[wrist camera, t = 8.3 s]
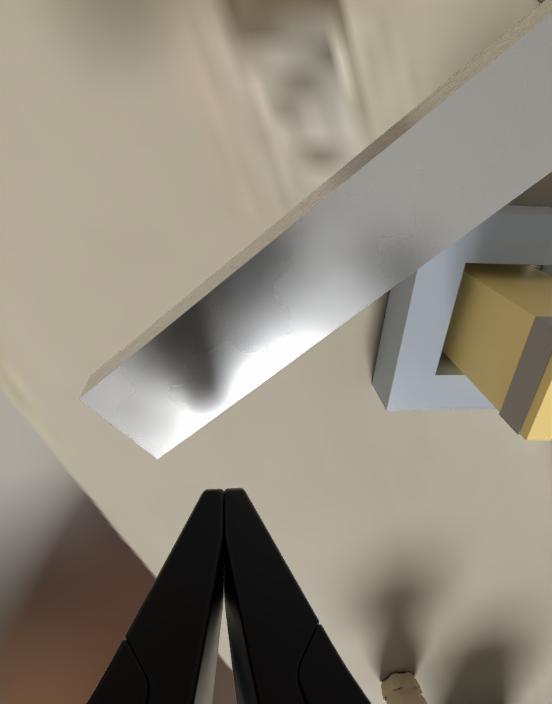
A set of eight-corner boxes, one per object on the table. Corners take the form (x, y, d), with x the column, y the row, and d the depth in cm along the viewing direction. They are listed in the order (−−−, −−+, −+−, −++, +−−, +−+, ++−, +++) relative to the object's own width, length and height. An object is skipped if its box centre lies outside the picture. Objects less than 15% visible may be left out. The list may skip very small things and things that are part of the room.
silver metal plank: (1273, -686, 5) (1479, -846, 4) (1180, -270, 7) (1313, -324, 6) (63, 354, 10) (48, 376, 9) (183, 450, 12) (180, 476, 11)
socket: (603, 209, 20) (648, 220, 18) (533, 383, 24) (563, 408, 22) (407, 200, 19) (430, 210, 17) (371, 384, 23) (386, 410, 21)
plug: (530, 263, 21) (685, 337, 14) (504, 340, 23) (628, 439, 16) (449, 261, 20) (568, 337, 13) (429, 339, 22) (524, 441, 15)
